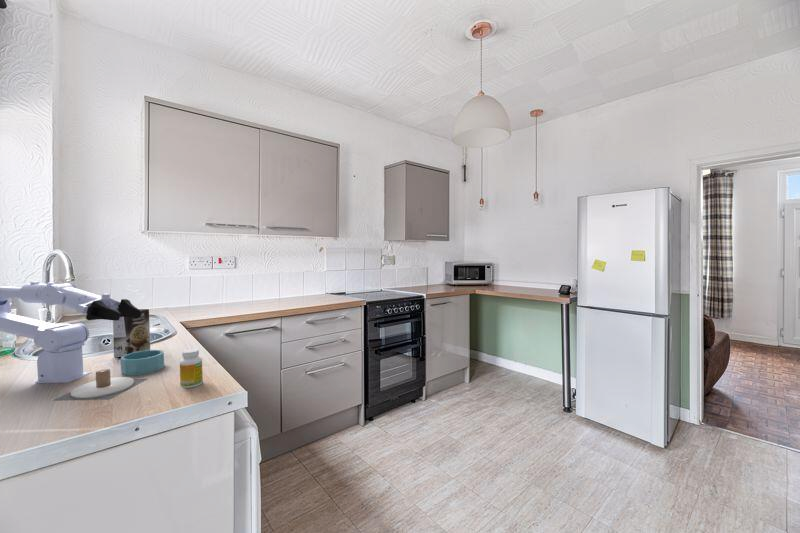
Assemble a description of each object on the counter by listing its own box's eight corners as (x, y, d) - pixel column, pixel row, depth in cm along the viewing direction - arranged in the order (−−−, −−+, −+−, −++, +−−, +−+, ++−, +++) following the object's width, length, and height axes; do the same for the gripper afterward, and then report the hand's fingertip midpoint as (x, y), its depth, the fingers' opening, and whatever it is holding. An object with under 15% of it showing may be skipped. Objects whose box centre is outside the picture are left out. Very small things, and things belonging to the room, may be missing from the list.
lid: (56, 399, 88) (55, 380, 87) (98, 380, 101) (98, 363, 100) (109, 398, 88) (108, 379, 88) (144, 379, 101) (144, 362, 101)
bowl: (112, 376, 104) (111, 360, 104) (138, 365, 115) (137, 350, 115) (149, 376, 105) (148, 359, 104) (171, 364, 115) (171, 349, 115)
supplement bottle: (198, 387, 96) (197, 352, 95) (176, 389, 95) (175, 354, 94) (205, 380, 101) (204, 347, 100) (185, 381, 100) (184, 348, 99)
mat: (52, 401, 87) (52, 400, 87) (98, 380, 101) (98, 379, 101) (109, 400, 88) (109, 398, 88) (147, 379, 102) (147, 378, 102)
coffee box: (128, 358, 122) (126, 313, 121) (113, 357, 123) (111, 312, 123) (151, 351, 131) (149, 308, 130) (137, 350, 132) (135, 308, 132)
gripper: (67, 289, 95) (113, 303, 94) (113, 289, 109) (153, 301, 108) (58, 314, 94) (104, 328, 94) (105, 311, 109) (146, 323, 108)
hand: (130, 315), depth 101 cm, fingers open, 7 cm apart
